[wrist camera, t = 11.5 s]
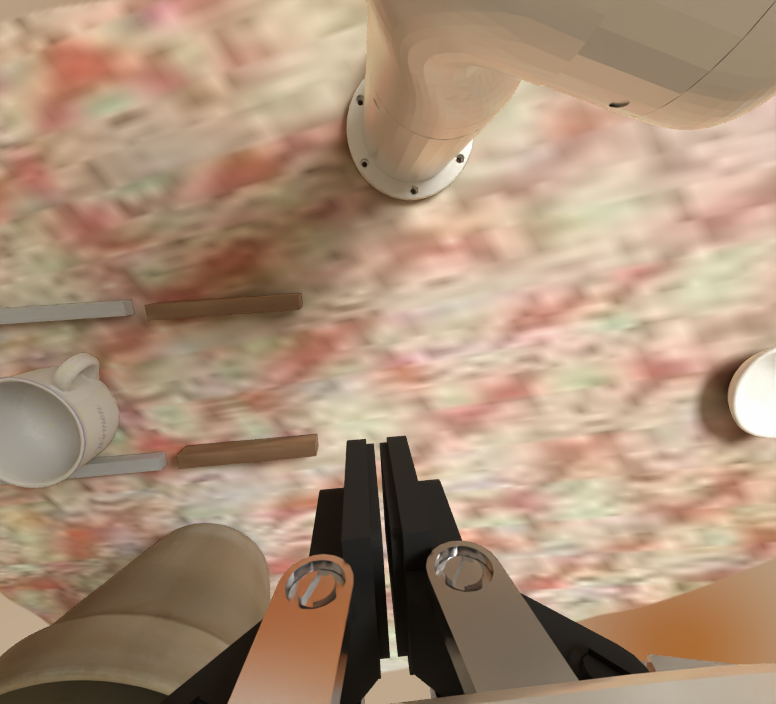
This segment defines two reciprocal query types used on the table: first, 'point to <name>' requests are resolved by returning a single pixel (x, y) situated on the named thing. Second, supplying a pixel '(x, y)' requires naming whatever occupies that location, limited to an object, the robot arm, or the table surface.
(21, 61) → the table surface
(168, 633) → the plant pot
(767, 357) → the white sneaker
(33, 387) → the teacup
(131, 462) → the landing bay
